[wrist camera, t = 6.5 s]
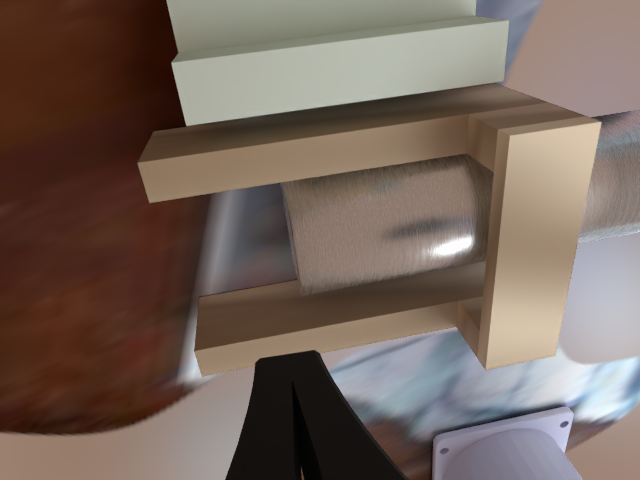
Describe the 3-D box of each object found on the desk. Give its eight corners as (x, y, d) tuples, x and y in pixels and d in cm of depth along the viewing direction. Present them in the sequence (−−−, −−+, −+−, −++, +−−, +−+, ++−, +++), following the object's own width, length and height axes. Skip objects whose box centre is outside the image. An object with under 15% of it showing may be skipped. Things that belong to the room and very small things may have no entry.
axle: (619, 108, 19) (726, 101, 15) (618, 214, 20) (717, 237, 16) (276, 162, 18) (283, 172, 13) (295, 273, 19) (307, 315, 14)
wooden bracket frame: (479, 270, 21) (555, 355, 16) (205, 320, 19) (198, 429, 15) (495, 83, 17) (601, 121, 12) (153, 131, 16) (121, 195, 11)
